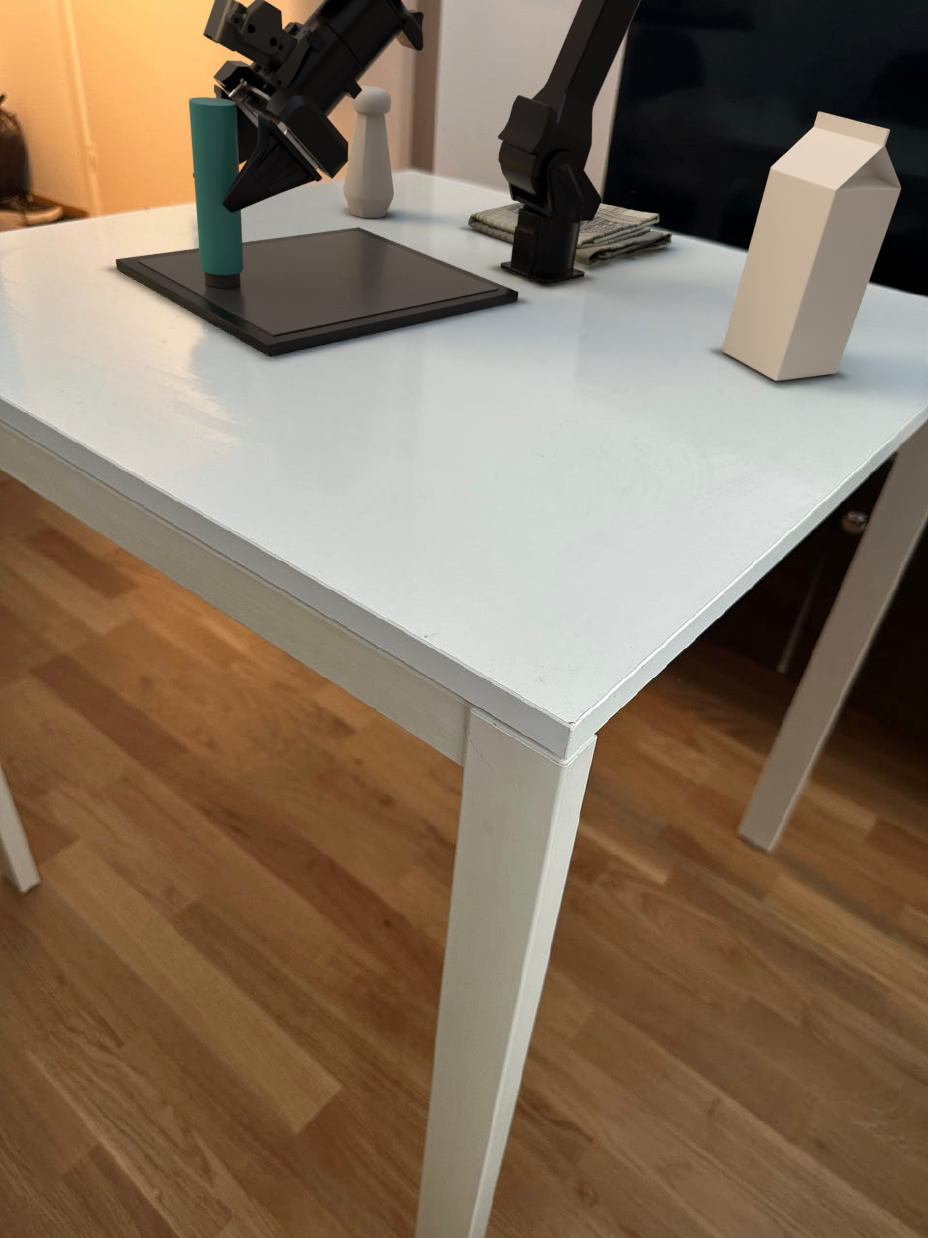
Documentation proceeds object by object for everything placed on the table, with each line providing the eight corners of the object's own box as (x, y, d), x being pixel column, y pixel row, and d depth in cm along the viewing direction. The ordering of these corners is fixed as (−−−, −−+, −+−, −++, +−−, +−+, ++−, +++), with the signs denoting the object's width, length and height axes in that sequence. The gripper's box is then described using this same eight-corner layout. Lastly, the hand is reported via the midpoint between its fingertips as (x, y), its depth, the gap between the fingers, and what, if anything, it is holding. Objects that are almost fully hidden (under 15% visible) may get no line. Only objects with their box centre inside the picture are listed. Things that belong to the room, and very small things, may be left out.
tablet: (358, 235, 100) (358, 225, 100) (517, 301, 88) (519, 290, 87) (116, 268, 84) (115, 257, 83) (269, 356, 71) (269, 343, 70)
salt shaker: (401, 214, 110) (407, 89, 102) (377, 222, 105) (382, 93, 98) (358, 204, 111) (361, 81, 104) (333, 212, 107) (335, 84, 99)
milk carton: (775, 383, 77) (855, 128, 65) (720, 352, 82) (785, 110, 70) (836, 375, 80) (922, 130, 68) (779, 345, 85) (851, 112, 73)
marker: (251, 281, 81) (245, 102, 73) (230, 292, 79) (220, 106, 70) (215, 273, 82) (205, 95, 74) (193, 284, 79) (179, 99, 71)
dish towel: (461, 228, 107) (464, 198, 105) (554, 211, 119) (558, 184, 117) (591, 271, 98) (596, 240, 96) (678, 248, 109) (684, 219, 108)
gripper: (231, -55, 76) (108, 94, 78) (308, -38, 63) (158, 140, 65) (322, 61, 83) (209, 193, 85) (407, 97, 71) (271, 252, 73)
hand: (210, 193), depth 77 cm, fingers open, 9 cm apart
